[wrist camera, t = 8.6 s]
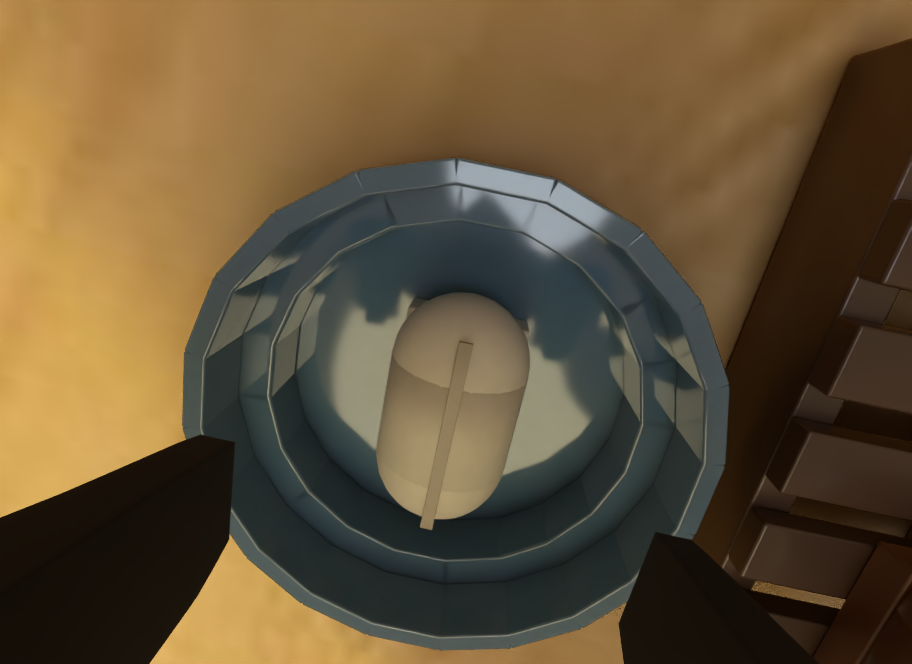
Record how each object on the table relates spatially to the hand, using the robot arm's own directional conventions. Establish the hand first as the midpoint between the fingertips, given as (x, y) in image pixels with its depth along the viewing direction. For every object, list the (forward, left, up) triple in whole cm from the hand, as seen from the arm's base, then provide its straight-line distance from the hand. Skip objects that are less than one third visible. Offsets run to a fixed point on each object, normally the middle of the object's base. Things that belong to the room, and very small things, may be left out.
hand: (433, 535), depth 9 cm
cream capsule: (0, 0, -6) cm, 6 cm away
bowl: (0, 0, -7) cm, 7 cm away
